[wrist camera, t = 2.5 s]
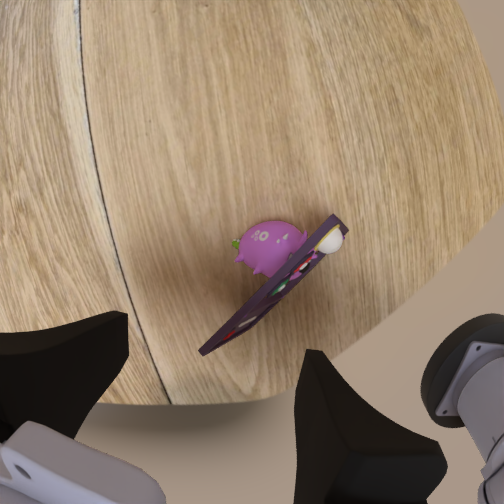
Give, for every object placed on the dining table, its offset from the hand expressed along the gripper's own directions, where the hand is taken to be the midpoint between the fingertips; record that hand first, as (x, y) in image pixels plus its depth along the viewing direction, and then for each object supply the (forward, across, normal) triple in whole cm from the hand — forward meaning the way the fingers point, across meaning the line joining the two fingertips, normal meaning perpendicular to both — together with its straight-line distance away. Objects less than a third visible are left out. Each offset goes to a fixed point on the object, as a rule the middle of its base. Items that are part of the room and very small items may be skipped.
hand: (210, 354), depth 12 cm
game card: (+9, -2, -2) cm, 10 cm away
